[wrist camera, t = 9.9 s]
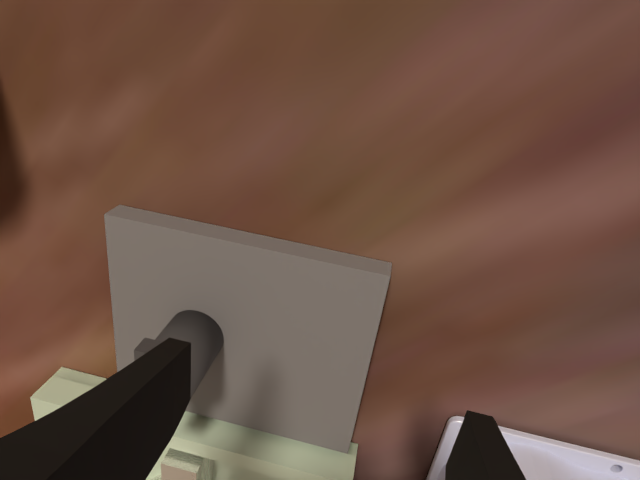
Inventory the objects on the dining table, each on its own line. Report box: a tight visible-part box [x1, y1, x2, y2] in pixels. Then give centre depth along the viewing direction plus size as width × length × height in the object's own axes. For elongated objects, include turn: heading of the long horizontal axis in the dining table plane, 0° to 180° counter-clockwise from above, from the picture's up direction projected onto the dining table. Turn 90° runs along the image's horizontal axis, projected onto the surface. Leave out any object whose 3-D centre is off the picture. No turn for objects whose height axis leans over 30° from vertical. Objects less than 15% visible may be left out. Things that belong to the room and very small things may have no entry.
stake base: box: [104, 205, 392, 454], centre depth 21 cm, size 13×11×6 cm
